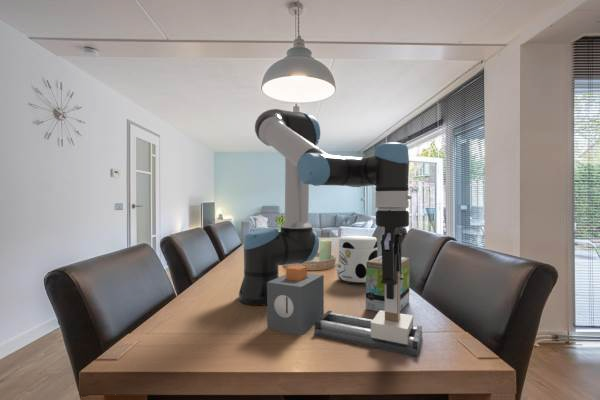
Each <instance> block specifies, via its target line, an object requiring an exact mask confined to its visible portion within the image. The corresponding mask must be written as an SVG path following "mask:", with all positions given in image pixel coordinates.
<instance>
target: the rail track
mask: <svg viewBox="0 0 600 400" xmlns="http://www.w3.org/2000/svg"><path fill="white" fill-rule="evenodd" d="M372 320H373V319H371V318H370V319H369V318H366V317H365V318H364V317H359V316H352V315H349V314H348V315H347V314H342V313H335V312H333V311H332V310H327V311H326V312H324V315H323V316H321V317H320V318H319V319H318V320H317V321H315V325H314V329H313V335H314V336H319V337H323V338H328V339H331V340H332V339H333V340H337V341H342V342H347V343H350V344H351V343H352V344H356V345H360V346H364V347H369V348H374V349H379V350H384V351H388V352H391V353H392V352H393V353H398V354H403V355H407V356H412V357H418V356H419V352H420V349H421V344H422V340H423V326H422V325H421V326H420V325H417V326H413V327H412V328H411V331H410V334H409V336H408V345H407V344H402V343H397V342H392V341H387V340H382V339H377V338H372V337H371V322H372Z"/></svg>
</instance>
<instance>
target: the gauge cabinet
mask: <svg viewBox="0 0 600 400" xmlns="http://www.w3.org/2000/svg"><path fill="white" fill-rule="evenodd" d="M324 279H325V278H324V274H322V273H321V274H319V273H311V272H307V279H305V280H303V281H293V280H286V273H285V274H283V275H281V276H279V277H278V278H276V279H274V280H271V281H269V282H267V306H266V313H267V316H266V317H267V318H266V319H267V321H266V324H267V325H266V326H267V329H269V330H273V331H278V332H281V333H286V334H292V335H296V336H300V337H302V336H304V334H306V333H307V332H308V331H310V330H311V328H312V326H313V327H315V321H317V320H318V319H319V318H320V317H321V316H323V315H324V314H325V306H324V304H325V301H324V297H325V296H324V295H325V294H324V292H325V291H324V289H325V286H324V285H325V284H324V283H325V282H324V281H325V280H324Z"/></svg>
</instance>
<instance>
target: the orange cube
mask: <svg viewBox="0 0 600 400" xmlns="http://www.w3.org/2000/svg"><path fill="white" fill-rule="evenodd" d="M307 273H308V266H304V265H295V264H294V265H293V264H292V265H290V266H288V267H286V268H285V274H286V280H293V281H303V280H305V279H307Z"/></svg>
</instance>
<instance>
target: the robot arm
mask: <svg viewBox="0 0 600 400" xmlns="http://www.w3.org/2000/svg"><path fill="white" fill-rule="evenodd" d="M254 132H255V134H256V137H257V138H258V140H260V142H261V143H263V144H264V145H265V146H268V147H272V148H273V149H275V151H277V152H278V153H280V154H281V155H282V156H283V157H284V158H285V161H284V162H285V163H284V165H285V166H284V168H285V171H284V172H285V173H284V174H285V175H284V176H285V177H284V178H285V179H284V191H285V192H284V222H283V223H282V224H281V225H280V231H279V229H278V228H276V227H269V228H267V227H266V228H258V229H256V230H255V229H254V230H251V231H249V232H247V233H246V234H245V235H244V239H243V240H244V241H243V246H242V247H243V279H242V282H241V285H240V287H239V288H240V289H239V291H238V301H239V302H240V303H242V304H245V305H249V306H250V305H251V306H266V305H267V282H269V281H271V280H274V279H276V278H278V277H280V274H279V266H283V265H285V266H286V265H293V264H294V265H295V264H304V263H307V262H311V261H312V260H314V259H315V257H316V256H317V254H318V252H319V249H320V248H319V247H320V240H319V237H318V233H317V232H316V231H315V230H314V229H313V225H312V224H311V223H310V220H309V207H310V206H309V201H310V200H309V199H310V197H309V196H310V195H309V194H310V193H309V191H310V185H312V186H316V187H317V186H340V187H341V186H346V187H351V188H361V187H370V186H375V205H374V206H375V208H376V209H377V210H376V212H375V226H377V227H378V228H379V227H380V228H384V232H383V234H382V235H381V240H380V247H381V255H382V281H381V283H382V284H385V312H390V313H396V314H397V284H396V271H400V275H401V274H402V272H401V257H402V253H403V252H402V250H403V249H402V247H403V246H402V245H403V244H402V243H403V234H402V233H401V232H400V228H407V227H409V225H410V212H409V211H408V210H407V209H408V208H409V207H410V205H409V203H410V201H409V200H411V199H412V195H410V194H409V191H410V190H409V188H410V187H409V175H410V159H409V158H410V155H409V147H408V145H406V144H405V143H402V142H385V143H380V144H378V145H376V147H375V151H374V155H369V156H360V157H359V156H349V155H337V154H329V153H327V152H325V151H324V150H322V149H321V148H320V147H318V146H317V145H319V142H320V141H319V140H320V139H321V126H320V124H319V121H318V119H317V118H316V117H315V116H314V115H312V114H307V113H304V112H297V111H290V110H284V109H279V108H273V109H267V110H266V111H263V112H262V113H261V114H259V116H258V117H257V119H256V120H255V123H254ZM400 280H403V276H400Z"/></svg>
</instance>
